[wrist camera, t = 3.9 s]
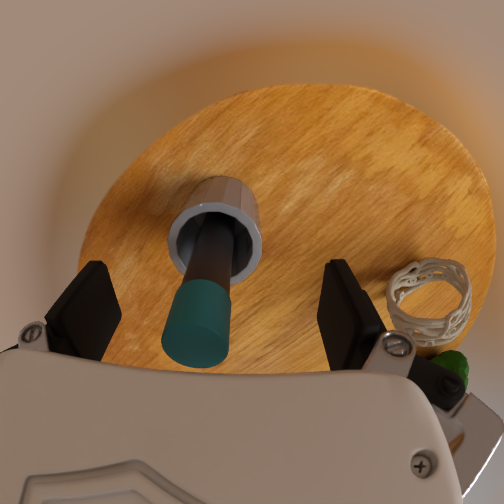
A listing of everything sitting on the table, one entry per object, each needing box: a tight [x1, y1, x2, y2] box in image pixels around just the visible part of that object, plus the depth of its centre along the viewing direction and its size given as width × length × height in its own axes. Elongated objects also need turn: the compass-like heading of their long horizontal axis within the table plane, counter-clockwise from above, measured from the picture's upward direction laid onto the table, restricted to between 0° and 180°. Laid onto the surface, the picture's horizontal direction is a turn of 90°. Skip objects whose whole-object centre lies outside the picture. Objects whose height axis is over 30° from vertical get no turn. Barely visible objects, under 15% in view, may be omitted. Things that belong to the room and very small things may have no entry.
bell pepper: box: [430, 350, 469, 391], centre depth 27 cm, size 8×8×10 cm
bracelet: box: [385, 257, 472, 347], centre depth 19 cm, size 4×8×8 cm, turn 119°
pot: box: [167, 176, 262, 285], centre depth 17 cm, size 5×5×6 cm
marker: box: [161, 212, 236, 368], centre depth 14 cm, size 2×2×12 cm
